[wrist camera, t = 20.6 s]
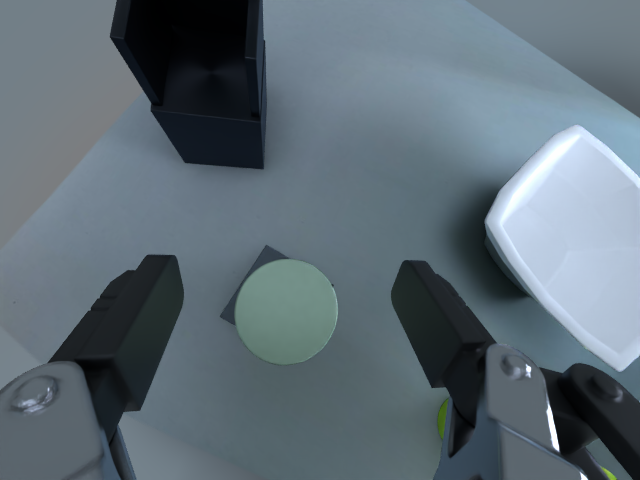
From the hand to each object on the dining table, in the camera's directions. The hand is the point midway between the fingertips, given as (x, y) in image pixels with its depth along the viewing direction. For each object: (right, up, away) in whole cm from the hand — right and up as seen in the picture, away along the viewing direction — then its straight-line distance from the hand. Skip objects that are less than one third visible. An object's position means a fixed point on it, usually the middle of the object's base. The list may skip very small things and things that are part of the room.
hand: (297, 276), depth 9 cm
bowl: (+30, 0, +27) cm, 40 cm away
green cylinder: (-4, -5, +19) cm, 20 cm away
